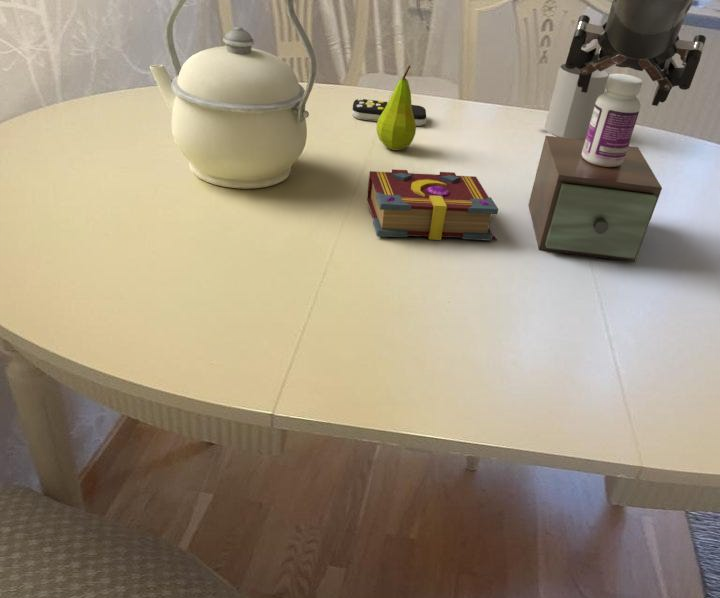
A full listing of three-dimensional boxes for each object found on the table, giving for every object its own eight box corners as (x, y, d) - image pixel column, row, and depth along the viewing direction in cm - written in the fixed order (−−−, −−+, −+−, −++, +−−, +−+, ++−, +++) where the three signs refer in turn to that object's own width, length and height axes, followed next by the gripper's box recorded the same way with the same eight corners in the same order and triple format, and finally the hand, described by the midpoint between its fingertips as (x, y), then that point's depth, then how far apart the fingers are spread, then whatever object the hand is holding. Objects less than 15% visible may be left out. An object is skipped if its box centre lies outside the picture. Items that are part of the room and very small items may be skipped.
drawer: (636, 263, 95) (659, 202, 90) (547, 252, 95) (564, 190, 90) (615, 215, 106) (634, 159, 101) (535, 205, 106) (550, 148, 101)
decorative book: (365, 202, 103) (368, 165, 100) (478, 207, 106) (485, 171, 102) (376, 239, 95) (381, 200, 92) (499, 243, 98) (508, 205, 94)
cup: (564, 121, 140) (580, 61, 133) (600, 135, 135) (618, 74, 129) (535, 127, 135) (550, 65, 129) (571, 142, 131) (588, 79, 124)
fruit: (366, 144, 120) (374, 61, 112) (394, 138, 124) (404, 57, 116) (393, 158, 117) (404, 73, 109) (421, 151, 120) (433, 68, 112)
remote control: (425, 127, 129) (427, 115, 128) (351, 119, 129) (352, 106, 128) (424, 116, 134) (426, 104, 133) (353, 108, 133) (354, 96, 132)
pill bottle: (629, 162, 97) (656, 80, 90) (610, 171, 93) (637, 87, 87) (592, 150, 99) (616, 69, 92) (572, 158, 96) (595, 74, 89)
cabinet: (635, 261, 97) (662, 187, 91) (538, 249, 97) (558, 174, 91) (615, 216, 108) (638, 147, 102) (528, 205, 108) (545, 135, 102)
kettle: (337, 169, 111) (352, -32, 94) (275, 211, 98) (280, -14, 81) (193, 130, 117) (183, -65, 101) (117, 165, 104) (91, -53, 88)
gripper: (735, -27, 75) (688, 74, 91) (591, -49, 77) (570, 52, 93) (715, 44, 74) (671, 132, 90) (572, 19, 77) (554, 109, 93)
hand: (620, 92), depth 92 cm, fingers open, 8 cm apart
